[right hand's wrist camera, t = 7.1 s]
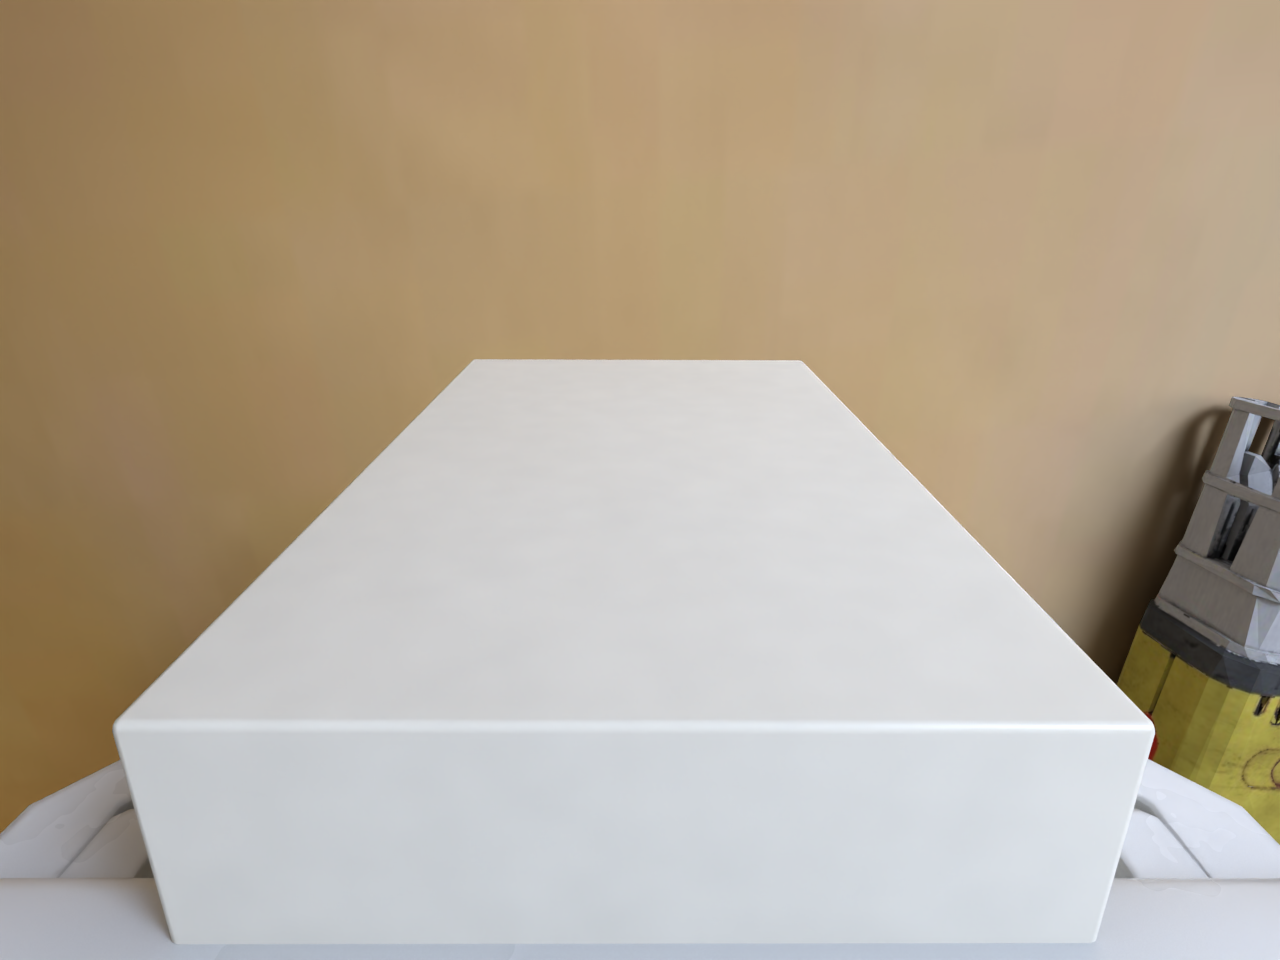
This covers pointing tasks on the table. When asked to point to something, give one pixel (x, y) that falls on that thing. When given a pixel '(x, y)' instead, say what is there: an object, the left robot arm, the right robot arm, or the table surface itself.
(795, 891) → the bar
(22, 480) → the table surface
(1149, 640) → the toy gun
